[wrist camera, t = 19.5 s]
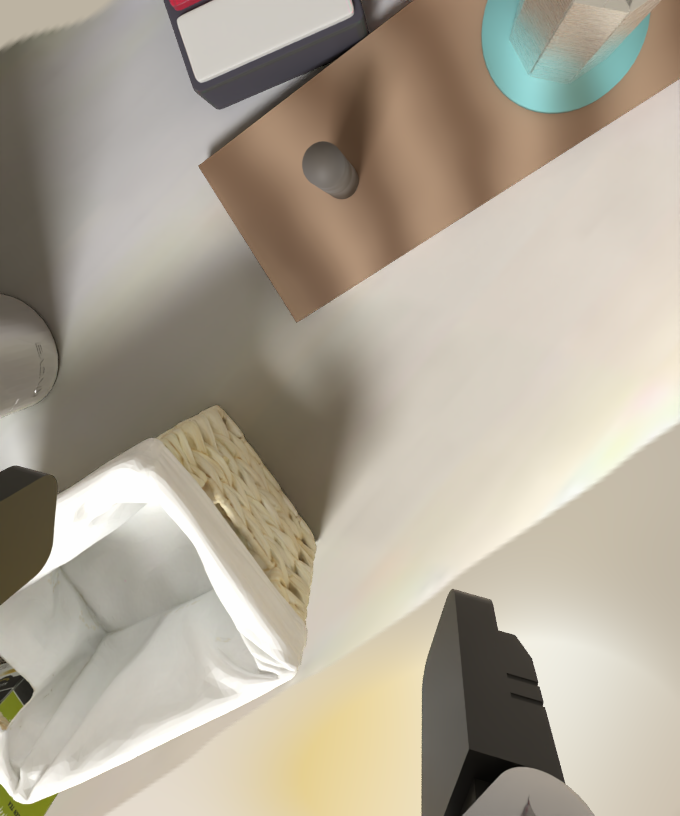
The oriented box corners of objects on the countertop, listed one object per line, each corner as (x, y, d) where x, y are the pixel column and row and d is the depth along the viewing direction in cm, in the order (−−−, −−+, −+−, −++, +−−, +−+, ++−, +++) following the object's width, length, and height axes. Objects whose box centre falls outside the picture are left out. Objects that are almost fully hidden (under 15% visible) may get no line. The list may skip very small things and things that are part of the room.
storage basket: (230, 379, 42) (132, 443, 28) (346, 548, 44) (311, 685, 30) (16, 520, 48) (-151, 630, 34) (129, 662, 51) (16, 819, 37)
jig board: (301, 320, 40) (269, 337, 32) (206, 169, 38) (148, 146, 30) (726, 49, 32) (828, -20, 24) (633, -158, 30) (710, -307, 22)
